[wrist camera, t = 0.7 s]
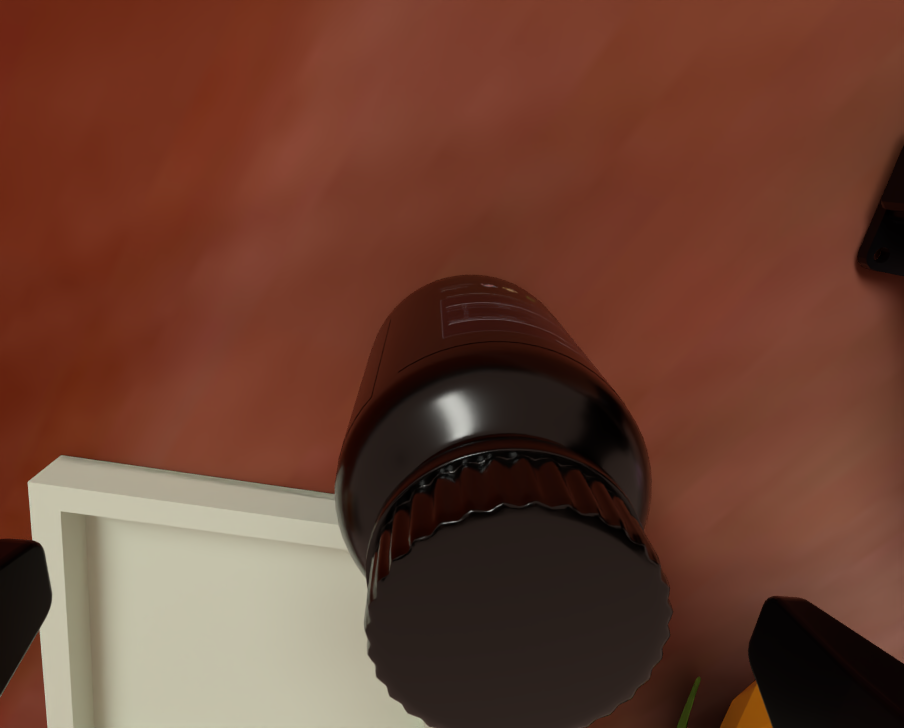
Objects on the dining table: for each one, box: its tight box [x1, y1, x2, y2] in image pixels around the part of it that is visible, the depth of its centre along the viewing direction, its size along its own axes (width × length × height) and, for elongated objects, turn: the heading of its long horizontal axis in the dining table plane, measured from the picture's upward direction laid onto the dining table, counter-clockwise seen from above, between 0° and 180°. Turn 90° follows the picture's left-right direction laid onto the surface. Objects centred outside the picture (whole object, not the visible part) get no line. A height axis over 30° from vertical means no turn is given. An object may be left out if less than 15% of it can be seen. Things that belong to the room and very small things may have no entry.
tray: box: [28, 455, 433, 728], centre depth 23 cm, size 16×16×2 cm
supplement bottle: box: [335, 275, 673, 728], centre depth 14 cm, size 7×7×12 cm
